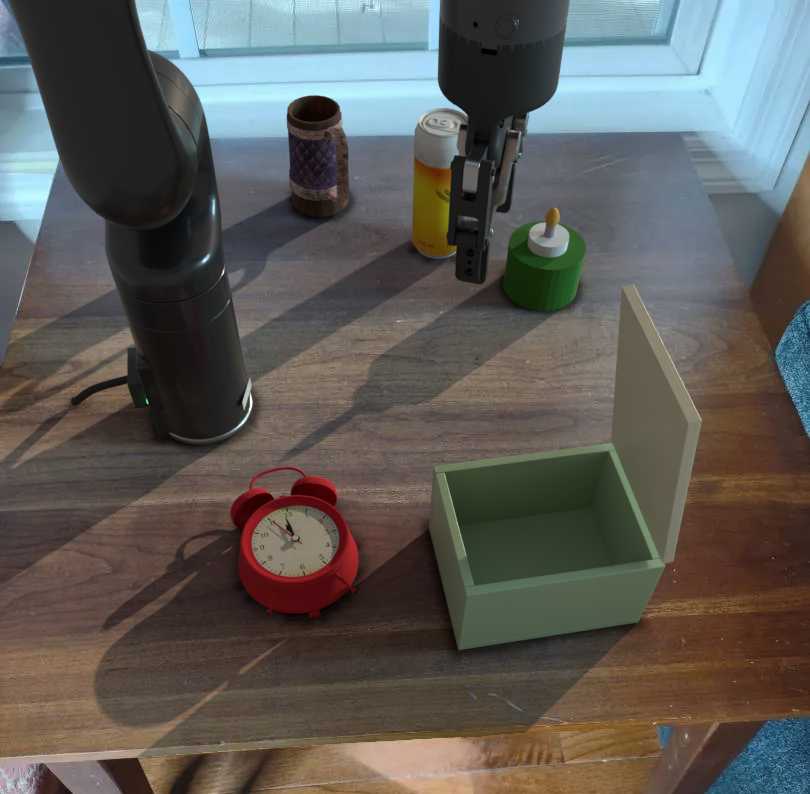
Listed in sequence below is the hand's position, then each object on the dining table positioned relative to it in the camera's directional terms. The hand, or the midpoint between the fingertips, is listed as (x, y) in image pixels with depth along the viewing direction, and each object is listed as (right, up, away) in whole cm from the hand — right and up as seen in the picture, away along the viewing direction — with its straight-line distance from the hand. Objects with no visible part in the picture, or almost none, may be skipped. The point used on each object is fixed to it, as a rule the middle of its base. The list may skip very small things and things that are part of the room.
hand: (483, 243), depth 64 cm
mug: (-15, +18, +41) cm, 48 cm away
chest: (+5, -25, +12) cm, 28 cm away
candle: (+9, +7, +34) cm, 36 cm away
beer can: (-2, +13, +38) cm, 40 cm away
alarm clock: (-16, -23, +13) cm, 31 cm away
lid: (+11, -14, -2) cm, 18 cm away
